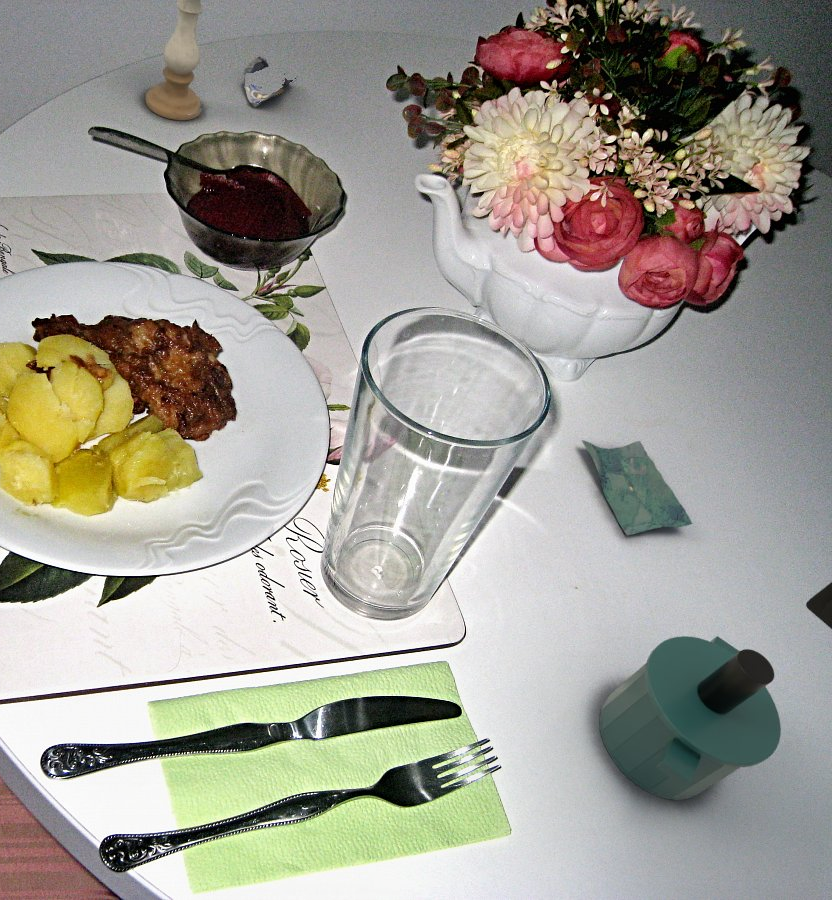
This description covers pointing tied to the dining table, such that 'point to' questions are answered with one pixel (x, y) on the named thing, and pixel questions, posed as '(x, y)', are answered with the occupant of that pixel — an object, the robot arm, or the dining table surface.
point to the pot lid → (715, 699)
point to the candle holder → (179, 68)
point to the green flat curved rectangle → (636, 489)
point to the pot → (654, 743)
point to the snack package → (257, 93)
